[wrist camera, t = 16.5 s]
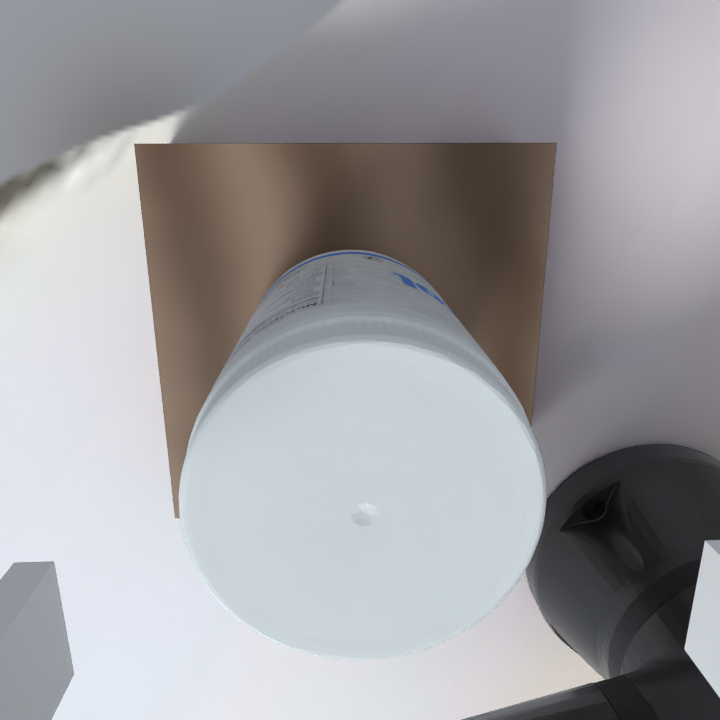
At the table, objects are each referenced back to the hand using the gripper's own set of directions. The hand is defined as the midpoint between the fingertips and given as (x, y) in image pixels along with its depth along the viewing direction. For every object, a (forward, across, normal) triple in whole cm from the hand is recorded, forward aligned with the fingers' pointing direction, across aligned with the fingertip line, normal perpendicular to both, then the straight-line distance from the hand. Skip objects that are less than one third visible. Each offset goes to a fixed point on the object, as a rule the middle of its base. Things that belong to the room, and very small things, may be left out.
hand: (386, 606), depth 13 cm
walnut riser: (+24, 0, 0) cm, 24 cm away
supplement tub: (+18, 0, 0) cm, 18 cm away
